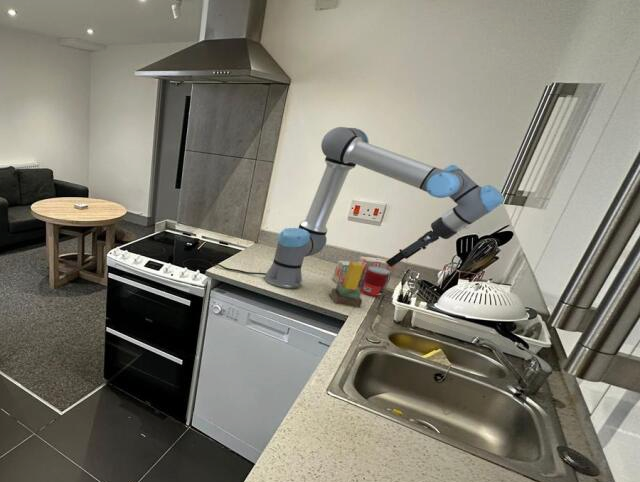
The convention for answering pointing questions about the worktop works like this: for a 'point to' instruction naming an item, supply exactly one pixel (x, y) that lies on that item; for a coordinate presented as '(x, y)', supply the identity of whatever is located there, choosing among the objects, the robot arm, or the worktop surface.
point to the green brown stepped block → (346, 296)
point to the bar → (353, 275)
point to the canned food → (375, 281)
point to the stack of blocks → (366, 262)
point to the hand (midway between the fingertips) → (396, 260)
